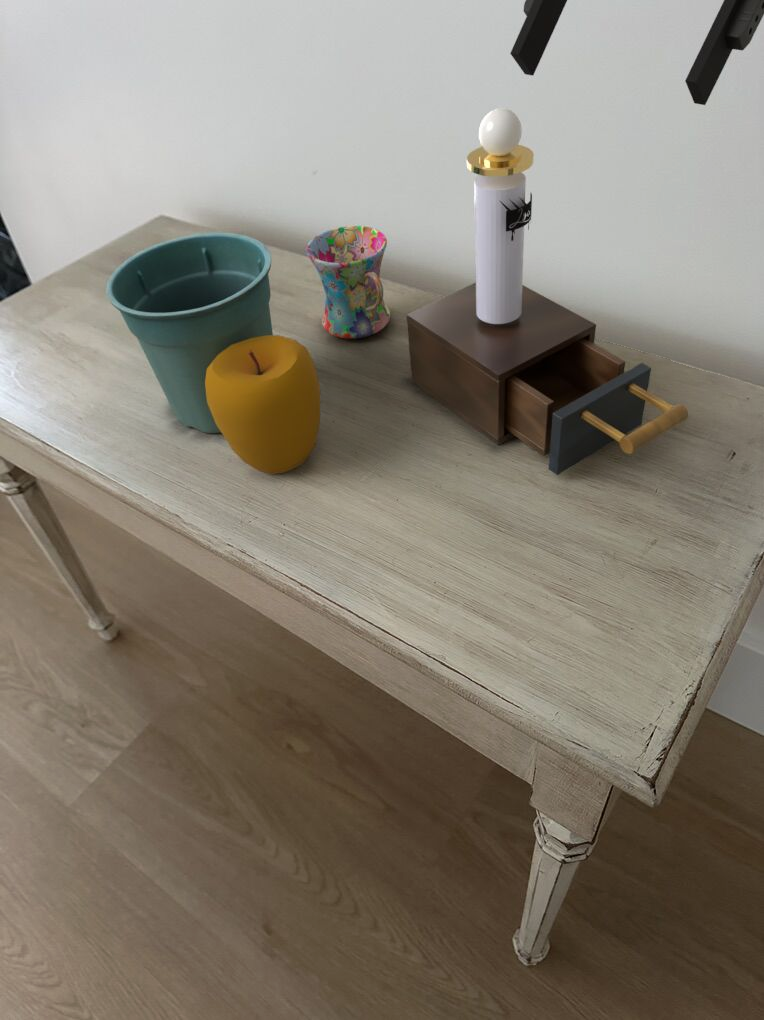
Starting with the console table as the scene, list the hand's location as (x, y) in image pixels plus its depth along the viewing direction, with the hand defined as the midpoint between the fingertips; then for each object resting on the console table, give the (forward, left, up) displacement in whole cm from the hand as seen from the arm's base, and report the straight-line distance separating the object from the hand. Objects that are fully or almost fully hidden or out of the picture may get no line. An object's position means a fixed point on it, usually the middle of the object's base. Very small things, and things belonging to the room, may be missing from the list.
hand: (602, 78), depth 55 cm
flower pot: (+38, +1, -34) cm, 51 cm away
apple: (+28, +8, -34) cm, 45 cm away
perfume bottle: (+9, -8, -25) cm, 28 cm away
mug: (+28, -16, -34) cm, 47 cm away
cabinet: (+9, -8, -34) cm, 36 cm away
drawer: (0, -2, -33) cm, 33 cm away
